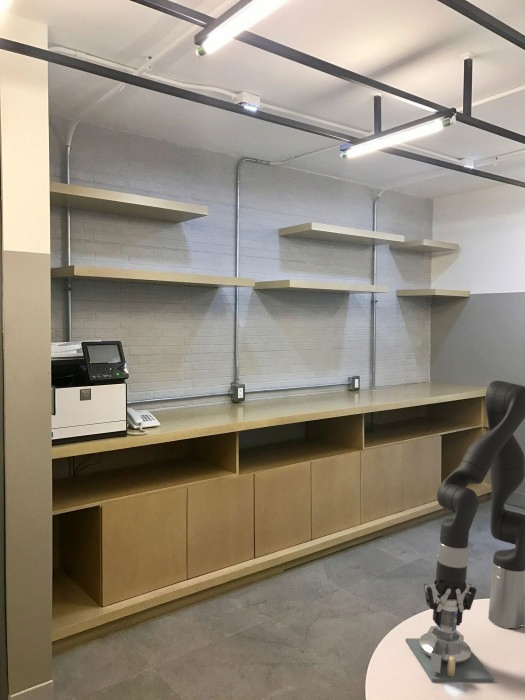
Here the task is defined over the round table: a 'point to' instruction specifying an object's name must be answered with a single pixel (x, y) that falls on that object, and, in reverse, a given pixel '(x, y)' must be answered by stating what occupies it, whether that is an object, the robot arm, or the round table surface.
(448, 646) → the handled bowl
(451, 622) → the pill bottle
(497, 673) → the round table surface
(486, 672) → the slate board
